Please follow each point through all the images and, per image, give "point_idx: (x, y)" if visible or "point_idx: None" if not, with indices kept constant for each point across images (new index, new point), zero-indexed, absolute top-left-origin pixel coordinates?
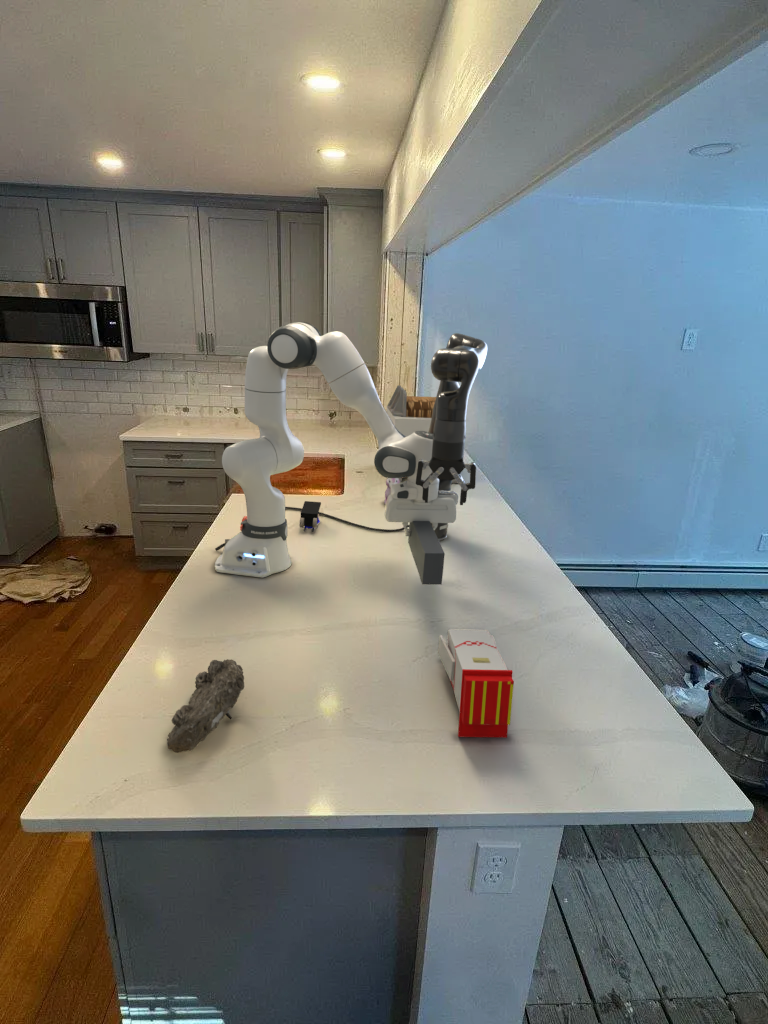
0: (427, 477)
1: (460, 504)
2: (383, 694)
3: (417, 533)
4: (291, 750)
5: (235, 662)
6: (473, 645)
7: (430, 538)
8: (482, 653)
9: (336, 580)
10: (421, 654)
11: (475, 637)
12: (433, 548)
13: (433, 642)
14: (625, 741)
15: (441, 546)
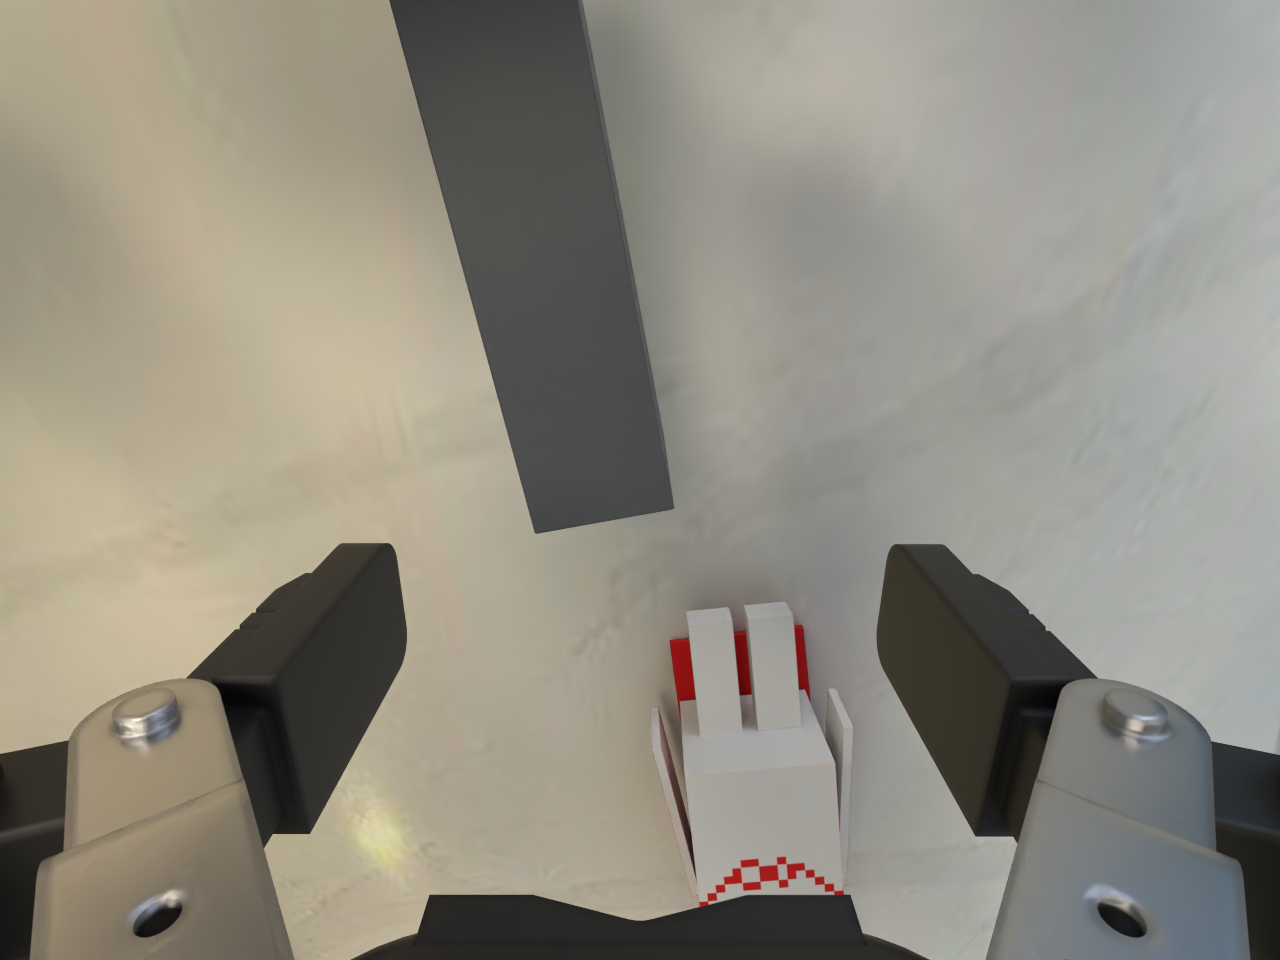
0: (65, 847)
1: (884, 657)
2: (508, 792)
3: (429, 144)
4: (350, 954)
5: None
6: (765, 888)
7: (556, 242)
8: None
9: (87, 52)
10: (599, 616)
11: (779, 829)
12: (591, 445)
13: (638, 544)
14: None
15: (651, 393)
